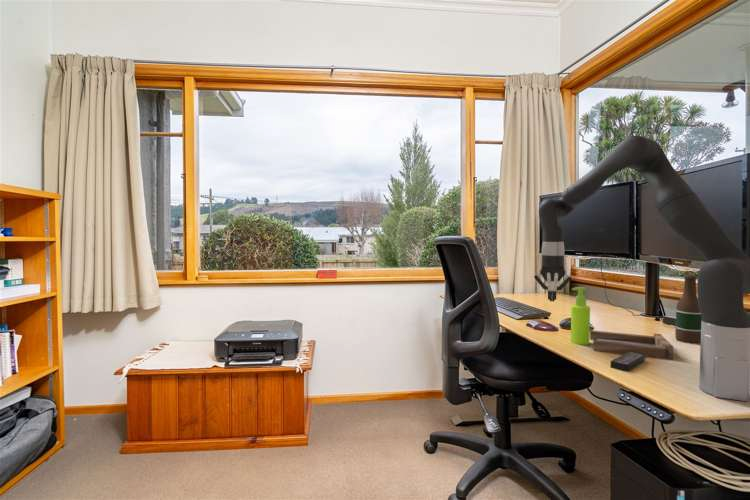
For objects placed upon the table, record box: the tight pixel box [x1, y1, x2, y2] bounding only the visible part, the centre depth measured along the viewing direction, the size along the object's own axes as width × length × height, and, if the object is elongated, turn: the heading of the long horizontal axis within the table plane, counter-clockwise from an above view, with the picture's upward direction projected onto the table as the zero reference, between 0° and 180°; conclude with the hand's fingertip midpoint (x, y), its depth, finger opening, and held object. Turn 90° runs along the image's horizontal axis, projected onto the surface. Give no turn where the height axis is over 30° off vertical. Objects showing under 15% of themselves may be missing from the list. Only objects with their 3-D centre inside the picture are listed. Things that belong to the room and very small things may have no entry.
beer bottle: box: [674, 274, 702, 345], centre depth 138 cm, size 8×8×24 cm
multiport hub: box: [610, 352, 646, 372], centre depth 114 cm, size 4×14×2 cm, turn 128°
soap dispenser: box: [570, 286, 591, 346], centre depth 136 cm, size 6×7×20 cm
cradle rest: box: [589, 329, 674, 360], centre depth 130 cm, size 16×22×4 cm
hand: (552, 301), depth 140 cm, fingers closed
